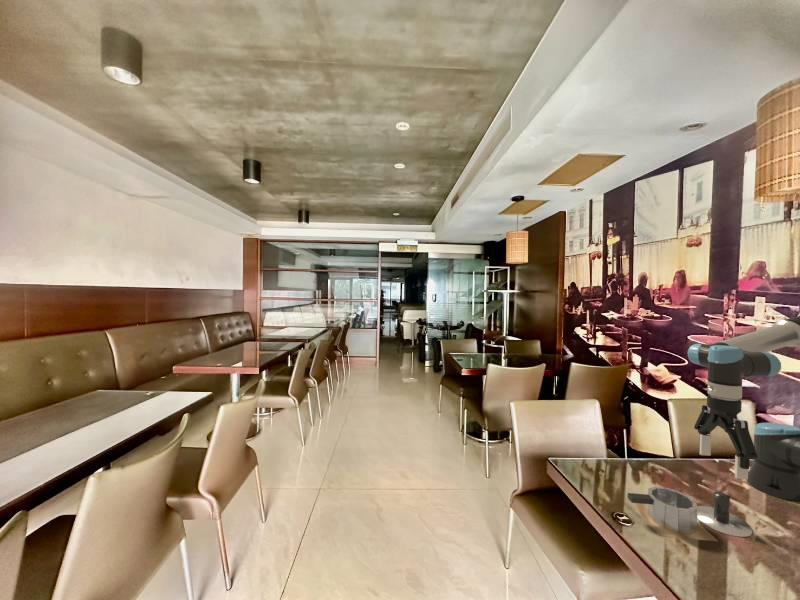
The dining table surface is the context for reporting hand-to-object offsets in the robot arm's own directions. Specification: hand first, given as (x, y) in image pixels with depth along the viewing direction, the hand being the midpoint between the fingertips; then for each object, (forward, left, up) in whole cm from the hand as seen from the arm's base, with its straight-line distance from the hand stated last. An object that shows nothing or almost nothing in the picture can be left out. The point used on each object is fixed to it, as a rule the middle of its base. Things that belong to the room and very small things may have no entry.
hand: (721, 465), depth 101 cm
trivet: (+15, +2, -18) cm, 23 cm away
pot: (+18, +2, -17) cm, 25 cm away
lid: (0, 0, -18) cm, 18 cm away
